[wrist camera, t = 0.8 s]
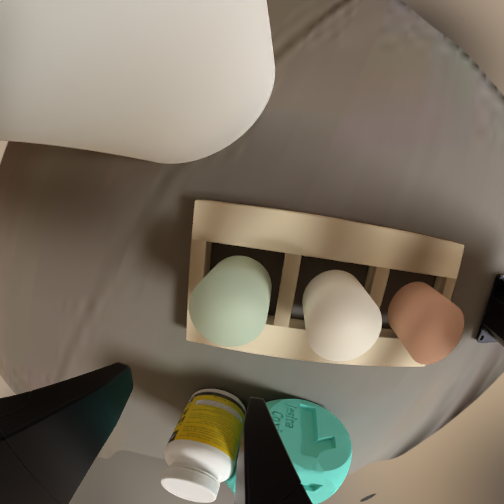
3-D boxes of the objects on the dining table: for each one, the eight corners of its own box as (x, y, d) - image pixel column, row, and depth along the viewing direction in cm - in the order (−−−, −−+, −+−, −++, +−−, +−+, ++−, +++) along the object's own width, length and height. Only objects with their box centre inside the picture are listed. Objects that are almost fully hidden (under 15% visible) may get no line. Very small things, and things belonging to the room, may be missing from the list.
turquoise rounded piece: (346, 411, 21) (359, 479, 13) (302, 455, 23) (301, 514, 15) (268, 385, 21) (258, 459, 13) (232, 433, 23) (216, 496, 15)
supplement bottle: (187, 381, 22) (144, 463, 12) (249, 391, 21) (227, 485, 12) (191, 419, 23) (158, 494, 13) (245, 429, 22) (227, 511, 13)
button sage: (276, 260, 17) (273, 281, 13) (266, 319, 18) (261, 352, 14) (212, 251, 17) (190, 267, 13) (207, 309, 18) (187, 338, 14)
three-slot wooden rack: (454, 241, 16) (464, 245, 15) (418, 357, 19) (424, 366, 17) (202, 199, 18) (195, 199, 17) (192, 330, 20) (186, 340, 19)
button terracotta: (442, 284, 16) (472, 305, 12) (425, 335, 16) (449, 363, 13) (396, 278, 16) (422, 300, 12) (380, 332, 17) (399, 364, 13)
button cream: (369, 274, 16) (391, 297, 12) (354, 330, 17) (368, 363, 13) (308, 265, 16) (315, 287, 13) (297, 324, 17) (298, 357, 13)
